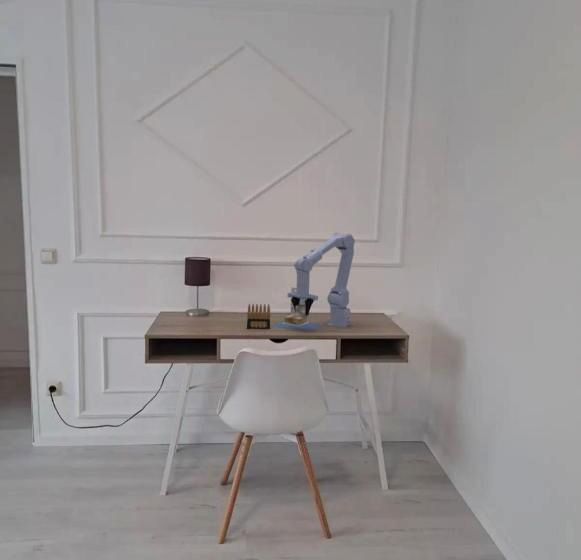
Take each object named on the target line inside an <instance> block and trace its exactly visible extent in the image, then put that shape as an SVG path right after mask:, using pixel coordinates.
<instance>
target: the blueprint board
mask: <svg viewBox="0 0 581 560" xmlns="http://www.w3.org/2000/svg"><path fill="white" fill-rule="evenodd" d="M284 321H285V319H283V320H282V321H278V322H276V323H275V324H270V327H274V328H280V329H287V330H294V331H301V332H311V331H313V330H315V329H317V328H319V327H322V326H325V324H324V323H319V322H312V321H307V322H306V323H304V324H301V325H294V324H287V323H284Z"/></svg>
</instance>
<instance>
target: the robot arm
mask: <svg viewBox="0 0 581 560" xmlns="http://www.w3.org/2000/svg"><path fill="white" fill-rule="evenodd" d="M355 242H356V240H355V237H353V235H352V234H350V233H339V232H334V234H332V235H330V237H329V239H327V241H325V243H323V244H322V245H321V246H320V247H319V248H312V249H310V252H308V253H306V255H303V257H302V258H301V257H300V258H298V259H297V260H296V261H295V264H294V270H295V272H296V288H297V290H295V291H296V293H291V292H287V298H290V303H291V302H292V303H293V306H294V309H295V314H296V306H297V305H299V303H300V298H301V299H307V300H305V307H306V310H305V314H306V315H310V314H309V313H310V310H311V307H312V306H313V304H314V303H315V302H316V301H319V295H314V294H311V293H310V271H312V269H313V268H314V266H315V265H316V264H317V263H318V262H320V261H321V260H323V256H324V254H326V253H328V252H329V251H330V250H332V249H333V248H336V249H338V251H339V252H340V254H341V257H340V260H339V261H340V262H339V267H338V269H337V270H338V271H337V273H336V279H335V285H334V286H333V287H332V288H330V291H329V293H328V295H327V299H326V300H327V303H328V304H329V308H330V310H329V322H328V323H326V325H328V326H333V327H341V328H347V327H348V326H350V325H351V309H350V308H349V307H348V304H349V303H350V298H349V297H350V292H349V289H348V288H347V286H348V281H349V277H350V273H351V272H350V271H351V269H352V263H353V259H354V254H355V249H354V247H355ZM291 297H292V299H291ZM303 297H306V298H303ZM314 301H315V302H314Z"/></svg>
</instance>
